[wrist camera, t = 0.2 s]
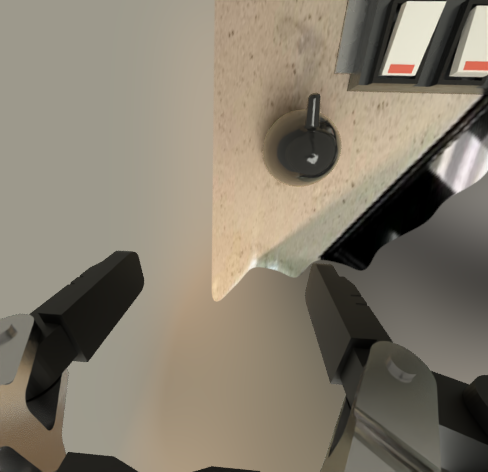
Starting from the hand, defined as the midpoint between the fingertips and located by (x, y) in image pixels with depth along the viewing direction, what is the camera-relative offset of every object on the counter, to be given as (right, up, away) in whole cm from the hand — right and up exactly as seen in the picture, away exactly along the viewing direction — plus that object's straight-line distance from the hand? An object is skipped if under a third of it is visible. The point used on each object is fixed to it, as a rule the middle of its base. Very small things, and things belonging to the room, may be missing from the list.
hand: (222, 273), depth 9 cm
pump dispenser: (+9, +17, +24) cm, 30 cm away
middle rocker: (+28, +24, +13) cm, 39 cm away
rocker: (+20, +24, +13) cm, 34 cm away
